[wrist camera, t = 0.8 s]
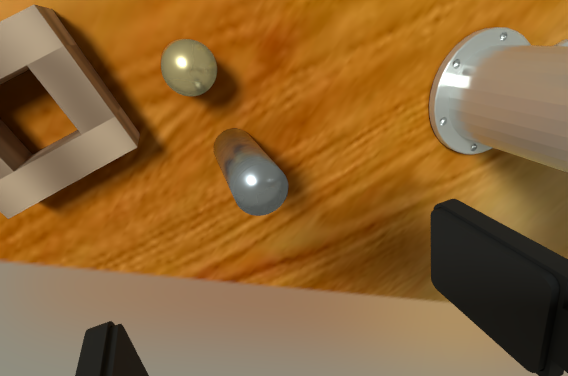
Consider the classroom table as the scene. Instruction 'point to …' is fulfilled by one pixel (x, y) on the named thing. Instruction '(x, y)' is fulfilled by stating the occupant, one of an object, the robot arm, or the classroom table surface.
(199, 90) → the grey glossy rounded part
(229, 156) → the long steel pin
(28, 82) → the classroom table surface
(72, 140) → the beige socket block
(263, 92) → the classroom table surface
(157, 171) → the classroom table surface
